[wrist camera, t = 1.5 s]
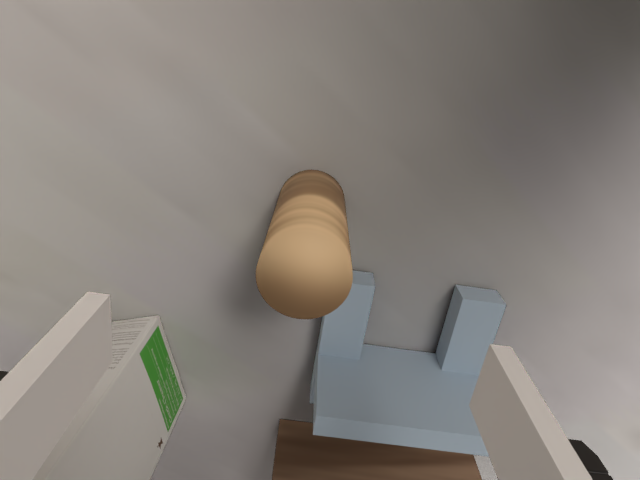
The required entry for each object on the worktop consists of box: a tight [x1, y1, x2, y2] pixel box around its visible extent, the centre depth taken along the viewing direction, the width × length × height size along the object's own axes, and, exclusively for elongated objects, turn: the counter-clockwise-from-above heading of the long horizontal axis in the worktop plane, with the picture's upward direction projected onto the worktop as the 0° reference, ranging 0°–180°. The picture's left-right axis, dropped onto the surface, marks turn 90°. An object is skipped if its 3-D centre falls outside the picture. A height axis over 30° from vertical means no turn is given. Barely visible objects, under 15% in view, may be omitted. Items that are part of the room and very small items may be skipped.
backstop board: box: [272, 419, 482, 480], centre depth 36 cm, size 2×16×7 cm, turn 82°
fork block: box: [310, 270, 506, 456], centre depth 31 cm, size 10×12×8 cm
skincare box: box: [32, 315, 186, 480], centre depth 29 cm, size 8×7×16 cm
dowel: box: [256, 170, 353, 319], centre depth 26 cm, size 4×4×11 cm
